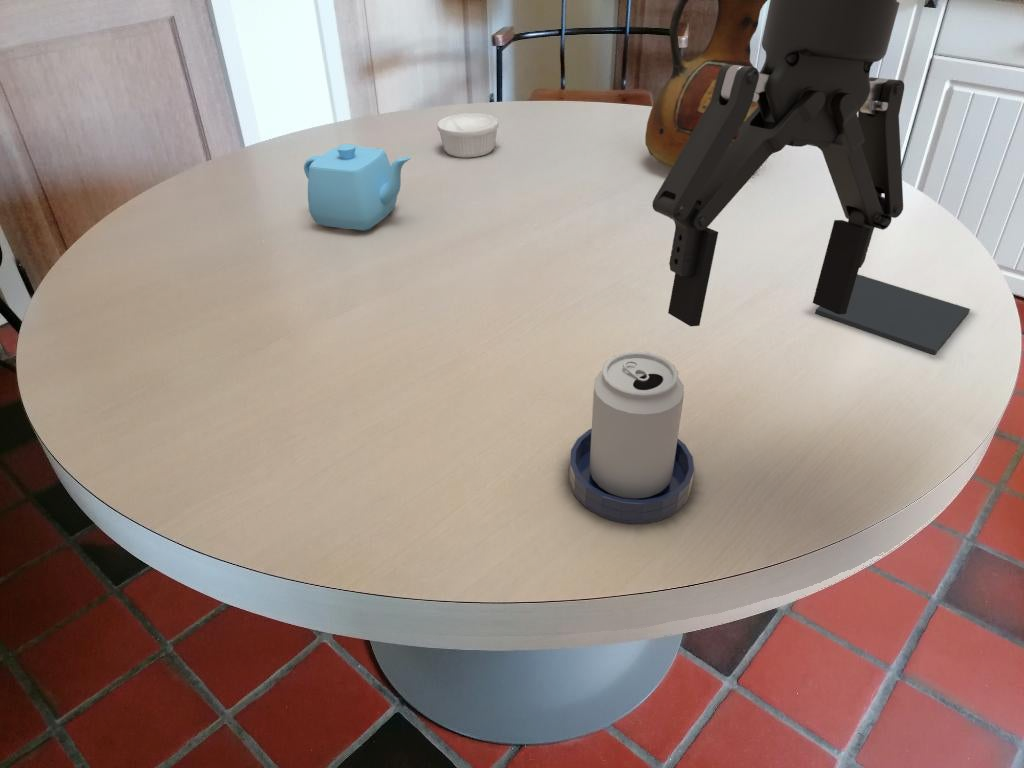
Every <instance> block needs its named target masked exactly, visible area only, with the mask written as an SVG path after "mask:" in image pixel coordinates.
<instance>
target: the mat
mask: <svg viewBox="0 0 1024 768" xmlns="http://www.w3.org/2000/svg"><path fill="white" fill-rule="evenodd" d="M970 311H971V308H970V307H969V308H968V307H964V306H962V305H959V304H956V303H953V302H949V301H945V300H942V299H939V298H936V297H933V296H930V295H927V294H923V293H920V292H917V291H913V290H909V289H906V288H903V287H900V286H896V285H895V284H891V283H887V282H884V281H881V280H878V279H874V278H871V277H867V276H864V275H862V274H859V273H857V277H856V280H855V284H854V287H853V291H852V294H851V298H850V301H849V305H848V308H847V312H846V314H839V315H838V314H836V313H834V312H832V311H830V310H827V309H825V308H823V307H821V306H819V305H818V307H817V308H816V309H815V312H814V314H816V315H819V316H821V317H825V318H827V319H830V320H833V321H835V322H839V323H841V324H844V325H847V326H850V327H853V328H857V329H859V330H862V331H865V332H867V333H870V334H874V335H876V336H880V337H882V338H886V339H888V340H890V341H894V342H897V343H900V344H902V345H905V346H908V347H911V348H913V349H917V350H919V351H923V352H926V353H928V354H930V355H931V354H932V355H937V353H938V352H939V350H940V349H941V348H942V346H943V345H944V344H945V343H946V342H947V340H948V339H949V338H950V337H951V335H952V334H953V333H954V332H955V331H956V329H957V328H958V327H959V326H960V324H961V323H962V322H963V321H964V320H965V318H966V317H967V316H968V314H969V313H970Z"/></svg>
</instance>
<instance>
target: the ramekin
mask: <svg viewBox="0 0 1024 768" xmlns="http://www.w3.org/2000/svg"><path fill="white" fill-rule="evenodd" d="M436 126H437V131H438V132H439V135H440V140H441V143H442V148H443V150H444V151H445V152H446V153H447V154H448V155H450V156H452V157H456V158H464V159H465V158H467V159H468V158H477V157H482V156H486V155H488V154H490V153H491V152H492V151H493V150H494V148H495V145H496V139H497V132H498V129H499V120H498V119H497V118H496V117H495V116H493V115H490V114H485V113H476V112H474V113H473V112H471V113H470V112H469V113H468V112H467V113H458V114H453V115H452V114H451V115H449V116H446V117H444V118H442V119H440V120H439V121H438V122H437V125H436Z"/></svg>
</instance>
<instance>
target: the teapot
mask: <svg viewBox="0 0 1024 768" xmlns="http://www.w3.org/2000/svg"><path fill="white" fill-rule="evenodd" d="M411 159H412V158H411V157H409V156H408V157H397V158H396V159H394V160H393V162H392V163H390V160H389V158H388V155H387V153H386V151H385V149H383V148H375V147H368V146H367V147H366V146H356V145H355V144H352V143H344V144H339V145H338V146H335V147H333V148H331V149H330V150H327V151H326V152H324V153H323V154H321V155H318V154H316V155H312V156H310V157H308V158H307V160H305V162H304V164H303V169H304V170H303V171H304V174H305V177H306V178H307V203H308V211H309V213H310V217H311V218H312V219H313V222H314V223H315V224H316V225H319V226H325V227H330V228H339V229H347V230H358V231H363V232H365V231H369V230H372V229H373V227H374V226H376V225H377V224H378V223H380V222H382V221H383V220H384V219H385V218H387V216H388V215H389V214H391V212H392V211H393V209H394V207H396V204H397V199H398V195H399V193H400V191H401V184H402V182H401V181H402V178H401V173H402V168H403V166H404V165H405V163H407V162H408V161H410V160H411Z"/></svg>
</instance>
